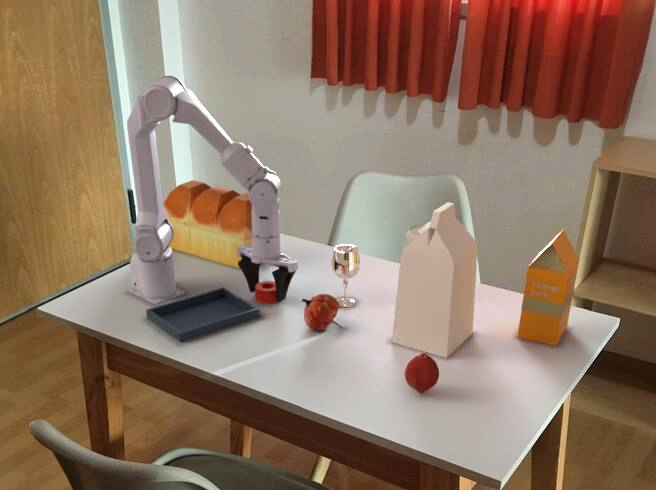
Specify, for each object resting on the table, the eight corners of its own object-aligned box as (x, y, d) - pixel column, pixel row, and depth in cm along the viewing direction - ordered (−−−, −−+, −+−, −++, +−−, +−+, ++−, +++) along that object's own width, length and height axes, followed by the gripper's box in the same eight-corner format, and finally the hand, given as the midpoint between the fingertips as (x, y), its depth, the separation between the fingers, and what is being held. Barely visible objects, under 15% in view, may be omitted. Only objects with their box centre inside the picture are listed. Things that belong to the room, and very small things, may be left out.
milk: (446, 357, 153) (460, 222, 139) (391, 342, 158) (399, 210, 144) (472, 333, 161) (487, 203, 148) (419, 319, 167) (429, 193, 153)
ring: (250, 300, 174) (249, 287, 172) (266, 292, 177) (265, 278, 176) (270, 307, 171) (269, 293, 169) (285, 298, 175) (285, 284, 173)
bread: (278, 254, 196) (277, 193, 189) (245, 270, 188) (243, 207, 180) (200, 232, 209) (196, 174, 201) (165, 247, 200) (160, 187, 192)
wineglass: (327, 305, 172) (327, 251, 166) (336, 295, 176) (337, 241, 170) (353, 310, 170) (354, 255, 164) (362, 299, 175) (364, 245, 168)
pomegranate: (335, 329, 168) (296, 300, 165) (357, 306, 163) (317, 276, 161) (328, 349, 162) (288, 319, 159) (351, 326, 157) (310, 295, 155)
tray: (146, 319, 166) (145, 309, 165) (224, 296, 176) (223, 287, 174) (180, 344, 157) (179, 333, 156) (259, 318, 167) (259, 308, 165)
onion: (400, 384, 144) (403, 343, 140) (433, 383, 145) (437, 342, 141) (406, 401, 139) (410, 360, 135) (440, 400, 140) (444, 359, 136)
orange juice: (567, 327, 164) (585, 231, 153) (556, 346, 157) (574, 246, 146) (528, 319, 167) (543, 224, 156) (516, 337, 160) (530, 239, 150)
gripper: (226, 231, 167) (229, 293, 175) (282, 247, 160) (283, 310, 167) (248, 222, 172) (250, 282, 179) (303, 237, 165) (303, 299, 172)
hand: (267, 295), depth 174 cm, fingers open, 7 cm apart
